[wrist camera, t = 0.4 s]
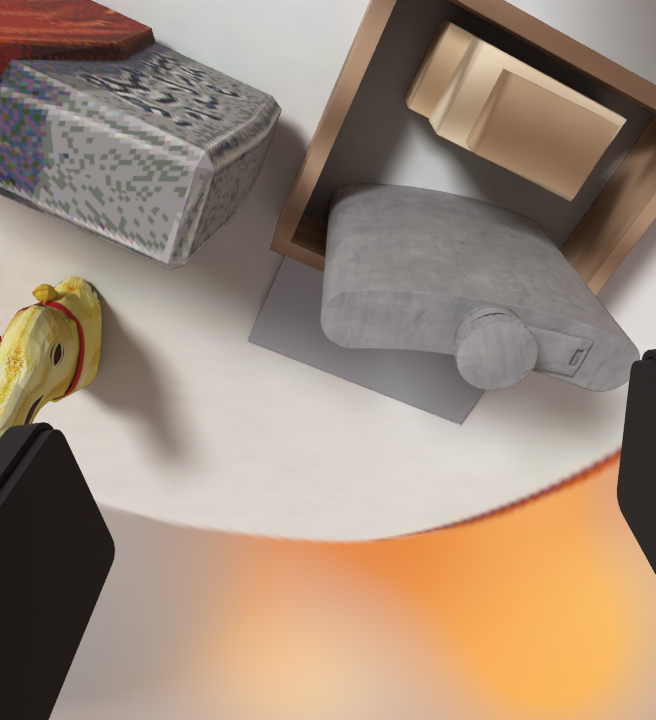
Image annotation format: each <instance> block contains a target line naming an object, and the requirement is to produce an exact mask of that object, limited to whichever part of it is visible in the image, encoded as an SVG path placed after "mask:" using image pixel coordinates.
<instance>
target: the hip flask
mask: <svg viewBox="0 0 656 720" xmlns="http://www.w3.org/2000/svg"><path fill="white" fill-rule="evenodd" d="M321 326H322V329H323V331H324V333H325V335H326V336H327V337H328V338H329V339H330V340H331V341H332V342H333V343H335V344H336V345H339V346H341V347H345V348H351V349H400V350H415V351H425V352H435V353H443V354H450V355H454V356H455V361H456V363H457V368H458V369H459V373H460V374H461V375H462V377H463V379H465V380H466V381H467V382H468V383H470V384H472V385H473V386H474V387H478V388H480V389H486V390H491V389H492V390H498V389H504V388H506V387H511V386H512V385H514V384H517V383H519V382H520V380H522V379H524V378H525V377H526V376H527V375H528V374H529V373H530V371H534V372H538V373H541V374H545V375H548V376H552V377H555V378H558V379H561V380H563V381H566V382H569V383H572V384H574V385H577V386H580V387H582V388H585V389H587V390H591V391H597V392H600V391H608V390H612V389H615V388H617V387H619V386H621V385H623V384H624V383H626V382H627V381H628V380H629V379H630V370H631V366H632V364H633V362H635V361H639V360H640V355H639V351H638V349H637V348H636V346H635V345H634V343H633V342H632V341H631V340H630V338H629V337H628V336H627V335H626V333H625V332H624V331H623V330H622V328H621V327H620V326H619V325H618V323H617V322H616V321H615V320H614V318H613V317H612V316H611V315H610V313H609V312H608V311H607V310H606V308H605V307H604V306H603V305H602V303H601V302H600V301H599V300H598V298H597V297H596V296H595V295H594V293H593V292H592V291H591V290H590V288H589V287H588V286H587V285H586V283H585V282H584V281H583V280H582V278H581V277H580V276H579V275H578V273H577V272H576V271H575V270H574V268H573V267H572V266H571V264H570V263H569V262H568V261H567V259H566V258H565V257H564V256H563V254H562V253H561V252H560V251H559V249H558V248H557V247H556V246H555V244H554V243H553V242H552V241H551V239H550V238H549V237H548V236H547V234H546V233H545V232H544V231H543V229H542V228H541V227H540V226H539V224H538V223H537V222H535V221H534V220H532V219H530V218H527V217H525V216H523V215H521V214H518V213H516V212H513V211H510V210H508V209H505V208H502V207H499V206H496V205H493V204H490V203H487V202H483V201H480V200H476V199H473V198H468V197H464V196H460V195H455V194H451V193H446V192H441V191H435V190H430V189H423V188H416V187H408V186H398V185H385V184H348V185H344V186H342V187H340V188H338V189H337V190H336V191H335V192H334V193H333V195H332V197H331V199H330V203H329V216H328V229H327V242H326V255H325V268H324V281H323V295H322V308H321Z"/></svg>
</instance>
